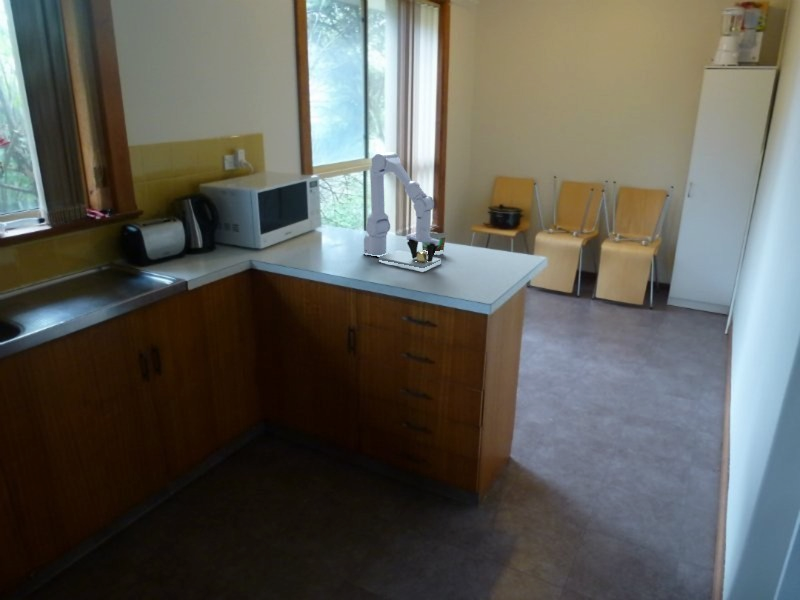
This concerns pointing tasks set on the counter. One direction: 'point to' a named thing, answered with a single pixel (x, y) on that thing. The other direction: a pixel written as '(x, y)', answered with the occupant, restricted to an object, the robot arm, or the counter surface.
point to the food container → (439, 237)
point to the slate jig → (406, 259)
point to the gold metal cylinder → (422, 257)
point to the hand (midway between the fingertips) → (422, 259)
